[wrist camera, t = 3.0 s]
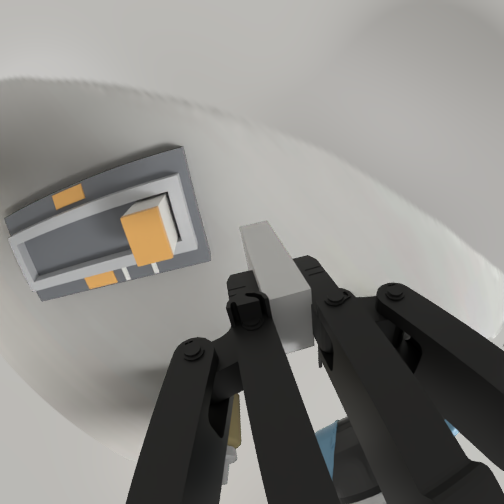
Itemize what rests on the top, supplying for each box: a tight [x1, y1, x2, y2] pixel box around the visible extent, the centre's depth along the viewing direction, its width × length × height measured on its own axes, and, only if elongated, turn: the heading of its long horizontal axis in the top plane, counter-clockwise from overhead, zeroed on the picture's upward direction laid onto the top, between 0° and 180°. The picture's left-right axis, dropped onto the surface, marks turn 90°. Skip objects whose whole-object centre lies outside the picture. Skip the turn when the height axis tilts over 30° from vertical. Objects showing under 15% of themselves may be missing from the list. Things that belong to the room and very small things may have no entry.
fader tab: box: [120, 193, 179, 267], centre depth 23 cm, size 3×4×5 cm
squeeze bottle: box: [222, 393, 241, 485], centre depth 32 cm, size 8×8×18 cm
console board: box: [5, 147, 211, 301], centre depth 25 cm, size 24×12×4 cm, turn 101°
